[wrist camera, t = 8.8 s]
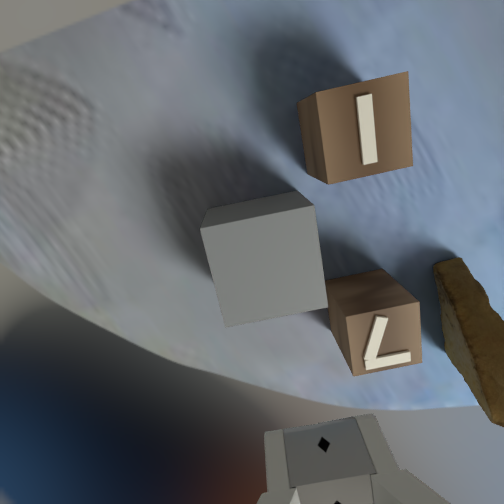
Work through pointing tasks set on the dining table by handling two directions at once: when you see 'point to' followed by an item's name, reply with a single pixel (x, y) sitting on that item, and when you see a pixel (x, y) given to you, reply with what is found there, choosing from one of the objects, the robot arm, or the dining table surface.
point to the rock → (472, 335)
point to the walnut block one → (357, 129)
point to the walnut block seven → (374, 322)
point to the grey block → (265, 258)
